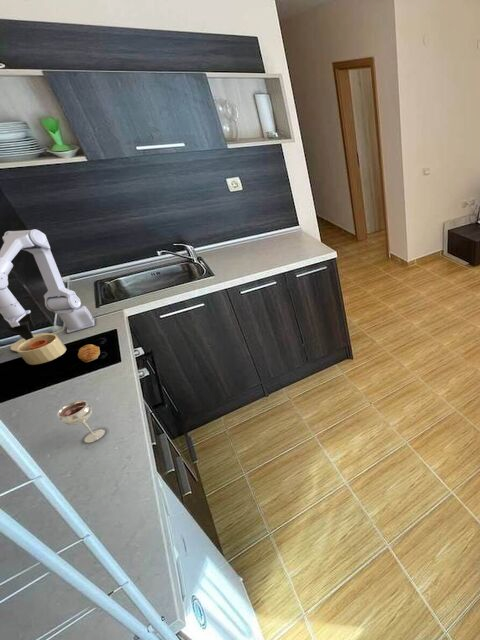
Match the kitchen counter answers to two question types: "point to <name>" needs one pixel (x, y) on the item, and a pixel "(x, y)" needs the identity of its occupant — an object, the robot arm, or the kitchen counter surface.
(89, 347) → the pastry
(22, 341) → the pot lid
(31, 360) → the pot
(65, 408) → the wineglass
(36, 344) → the cup
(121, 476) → the kitchen counter surface
